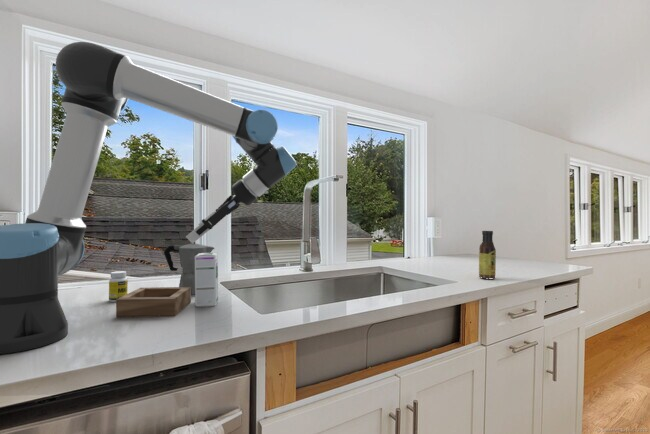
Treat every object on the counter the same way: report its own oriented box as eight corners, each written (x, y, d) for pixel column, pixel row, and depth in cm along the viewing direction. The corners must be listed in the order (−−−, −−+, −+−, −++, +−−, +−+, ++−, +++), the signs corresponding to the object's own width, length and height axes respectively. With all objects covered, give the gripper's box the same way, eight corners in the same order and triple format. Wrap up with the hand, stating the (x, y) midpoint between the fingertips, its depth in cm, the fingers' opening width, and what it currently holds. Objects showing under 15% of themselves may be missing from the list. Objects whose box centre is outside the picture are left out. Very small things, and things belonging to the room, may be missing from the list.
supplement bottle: (118, 302, 100) (118, 273, 100) (104, 301, 101) (105, 273, 101) (131, 298, 105) (131, 271, 105) (117, 298, 106) (117, 270, 106)
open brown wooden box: (174, 316, 87) (174, 298, 87) (116, 317, 86) (116, 299, 86) (190, 302, 101) (190, 287, 101) (140, 303, 100) (140, 287, 100)
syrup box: (216, 306, 98) (216, 254, 98) (194, 307, 96) (194, 254, 96) (218, 301, 103) (218, 252, 103) (197, 301, 102) (197, 252, 102)
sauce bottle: (494, 280, 139) (495, 231, 139) (477, 279, 143) (478, 230, 143) (496, 278, 145) (496, 230, 145) (479, 276, 148) (480, 230, 148)
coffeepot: (214, 288, 121) (214, 236, 121) (214, 294, 112) (214, 238, 112) (165, 291, 116) (166, 237, 116) (161, 297, 107) (162, 239, 107)
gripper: (254, 206, 91) (193, 256, 92) (262, 191, 115) (213, 231, 116) (234, 184, 89) (172, 235, 90) (246, 173, 113) (197, 214, 115)
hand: (195, 233), depth 103 cm, fingers open, 13 cm apart
